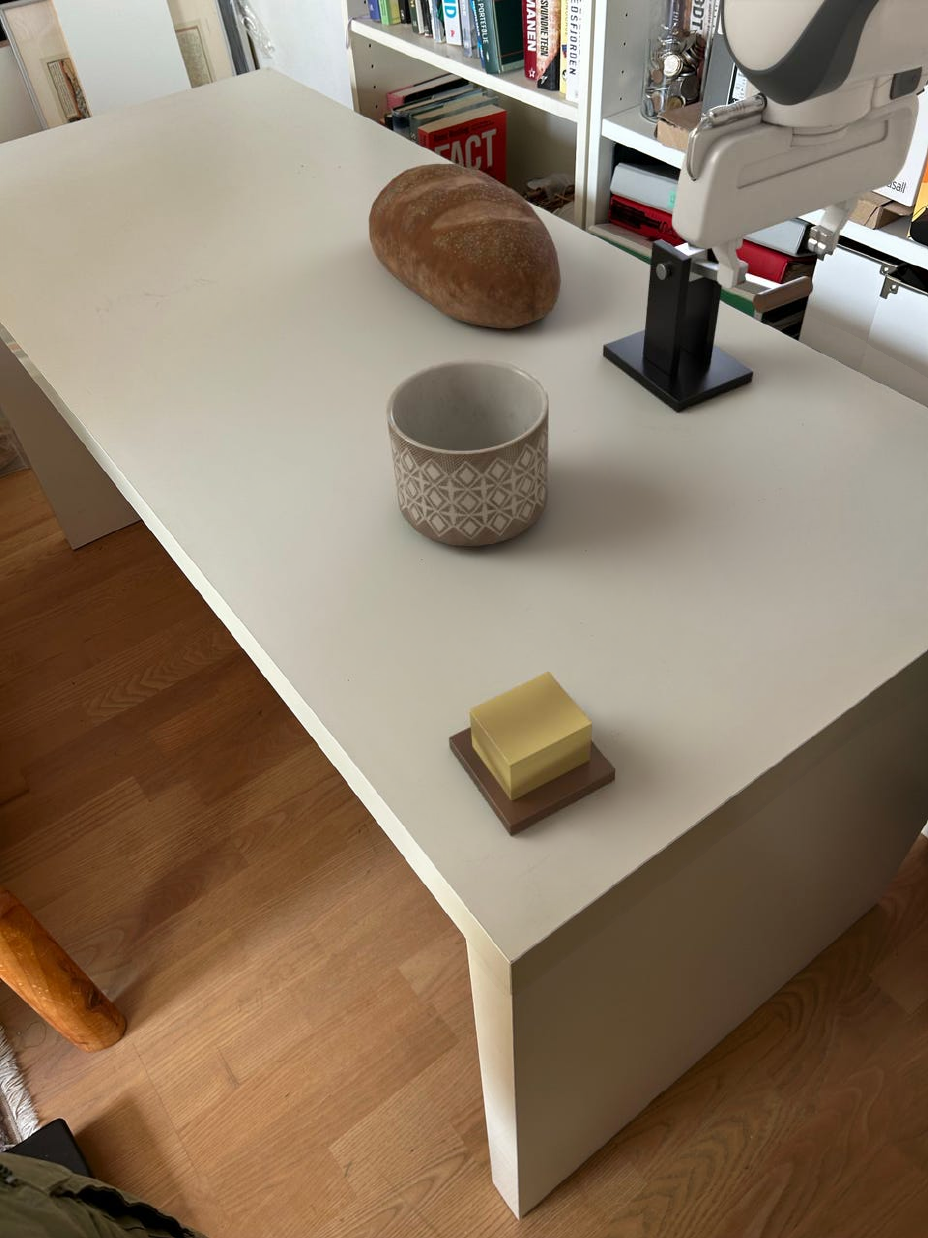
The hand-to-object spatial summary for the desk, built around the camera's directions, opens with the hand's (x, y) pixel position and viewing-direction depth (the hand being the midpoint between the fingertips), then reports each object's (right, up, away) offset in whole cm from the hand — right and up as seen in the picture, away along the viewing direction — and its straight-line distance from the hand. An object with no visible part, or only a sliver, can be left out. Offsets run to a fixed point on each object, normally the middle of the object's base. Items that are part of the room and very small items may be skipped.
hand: (776, 266), depth 78 cm
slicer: (-4, -4, +17) cm, 18 cm away
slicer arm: (-2, 0, +6) cm, 6 cm away
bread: (-25, +10, +32) cm, 43 cm away
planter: (-24, -19, +5) cm, 31 cm away
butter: (-21, -38, -13) cm, 45 cm away
